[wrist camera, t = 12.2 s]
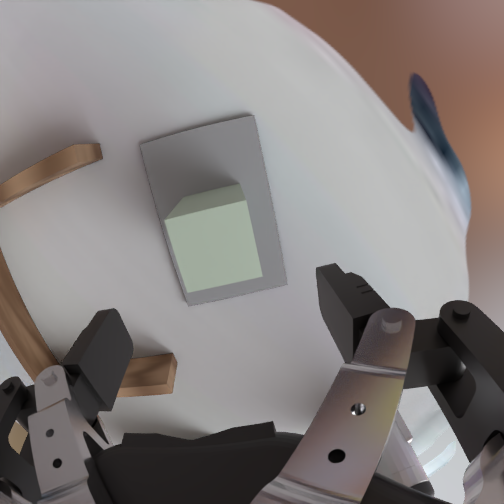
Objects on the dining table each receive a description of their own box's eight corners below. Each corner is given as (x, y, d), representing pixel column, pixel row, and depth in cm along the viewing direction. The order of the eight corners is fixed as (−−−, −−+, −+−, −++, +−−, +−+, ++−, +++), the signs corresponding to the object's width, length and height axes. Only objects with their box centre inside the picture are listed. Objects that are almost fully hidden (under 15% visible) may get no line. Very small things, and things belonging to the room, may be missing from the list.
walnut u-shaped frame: (99, 143, 22) (73, 144, 17) (177, 362, 31) (172, 393, 26) (-20, 206, 22) (-46, 217, 17) (57, 372, 31) (44, 396, 26)
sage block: (239, 183, 24) (246, 200, 17) (251, 237, 26) (262, 276, 18) (183, 197, 24) (164, 220, 16) (197, 250, 26) (187, 292, 18)
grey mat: (253, 115, 23) (254, 115, 22) (286, 281, 28) (287, 284, 28) (141, 144, 22) (139, 144, 22) (189, 303, 28) (188, 306, 28)
